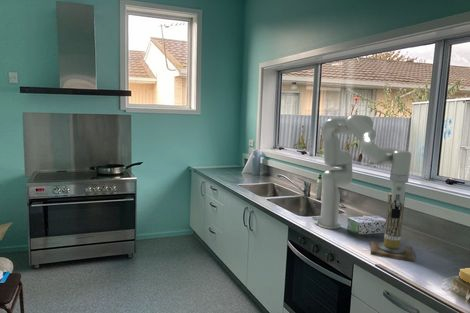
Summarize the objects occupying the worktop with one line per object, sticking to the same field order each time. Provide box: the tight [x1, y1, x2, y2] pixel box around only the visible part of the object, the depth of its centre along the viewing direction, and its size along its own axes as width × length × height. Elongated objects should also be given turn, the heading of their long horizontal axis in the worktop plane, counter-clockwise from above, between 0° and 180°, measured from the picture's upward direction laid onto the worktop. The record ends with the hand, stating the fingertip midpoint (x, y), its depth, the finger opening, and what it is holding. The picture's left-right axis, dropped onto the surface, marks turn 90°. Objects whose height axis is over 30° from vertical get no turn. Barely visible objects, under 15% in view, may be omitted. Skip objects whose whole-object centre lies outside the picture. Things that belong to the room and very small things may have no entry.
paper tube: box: [383, 191, 406, 249], centre depth 165 cm, size 7×7×25 cm
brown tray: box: [370, 240, 416, 263], centre depth 166 cm, size 18×15×2 cm
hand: (394, 214), depth 165 cm, fingers open, 9 cm apart
